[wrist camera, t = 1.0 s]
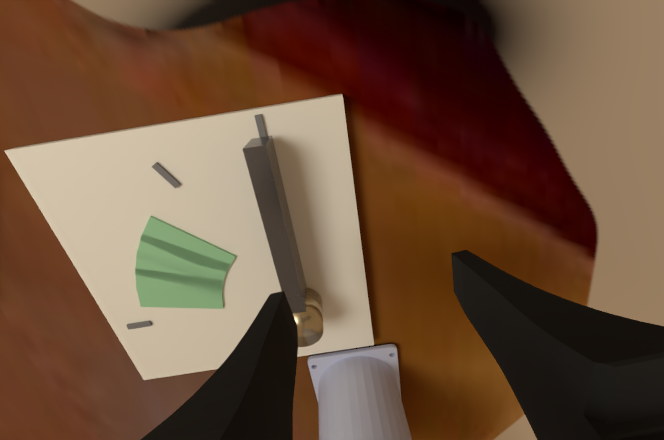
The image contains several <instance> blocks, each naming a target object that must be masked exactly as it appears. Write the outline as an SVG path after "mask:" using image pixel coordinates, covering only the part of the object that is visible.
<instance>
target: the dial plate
mask: <svg viewBox="0 0 664 440" xmlns="http://www.w3.org/2000/svg"><path fill="white" fill-rule="evenodd" d="M266 136H272V138H273V142H274V147H275V151H276V155H277V160H278V164H279V168H280V173H281V177H282V181H283V186H284V190H285V194H286V199H287V203H288V208H289V212H290V216H291V221H292V225H293V229H294V234H295V238H296V242H297V247H298V251H299V255H300V260H301V264H302V269H303V273H304V277H305V282H306V286H307V288H311V289H313V290H315V291H316V292H318V293H319V295H320V296H321V298H322V304H323V335H322V337H321V339H320V340H319V341H318V342H316V343H315V344H313V345H311V346H307V347H298V354H297V357H299V356H306V355H312V354H319V353H325V352H332V351H339V350H345V349H352V348H358V347H365V346H372V345H374V340H373V332H372V324H371V316H370V308H369V300H368V292H367V284H366V276H365V268H364V260H363V252H362V245H361V237H360V229H359V221H358V213H357V205H356V197H355V189H354V181H353V173H352V165H351V157H350V149H349V141H348V133H347V125H346V117H345V109H344V102H343V95H342V94H337V95H331V96H325V97H319V98H313V99H306V100H300V101H294V102H288V103H282V104H276V105H270V106H264V107H258V108H252V109H246V110H240V111H234V112H228V113H222V114H216V115H210V116H204V117H198V118H192V119H185V120H179V121H173V122H167V123H161V124H155V125H149V126H143V127H137V128H131V129H125V130H119V131H113V132H107V133H101V134H95V135H89V136H83V137H77V138H71V139H64V140H58V141H52V142H46V143H40V144H34V145H28V146H22V147H17V148H13V149H9V150H5V153H6V154H7V156H8V158H9V159H10V161H11V162H12V164H13V166H14V167H15V169H16V171H17V172H18V174H19V176H20V177H21V179H22V181H23V182H24V184H25V185H26V187H27V189H28V190H29V192H30V194H31V195H32V197H33V199H34V200H35V202H36V204H37V205H38V207H39V208H40V210H41V212H42V213H43V215H44V217H45V218H46V220H47V222H48V223H49V225H50V227H51V228H52V230H53V231H54V233H55V235H56V236H57V238H58V240H59V241H60V243H61V245H62V246H63V248H64V250H65V251H66V253H67V254H68V256H69V258H70V259H71V261H72V263H73V264H74V266H75V268H76V269H77V271H78V273H79V274H80V276H81V278H82V279H83V281H84V282H85V284H86V286H87V287H88V289H89V291H90V292H91V294H92V296H93V297H94V299H95V301H96V302H97V304H98V305H99V307H100V309H101V310H102V312H103V314H104V315H105V317H106V319H107V320H108V322H109V324H110V325H111V327H112V328H113V330H114V332H115V333H116V335H117V337H118V338H119V340H120V342H121V343H122V345H123V347H124V348H125V350H126V351H127V353H128V355H129V356H130V358H131V360H132V361H133V363H134V365H135V366H136V368H137V370H138V371H139V373H140V374H141V376H142V378H143V379H144V380H147V379H154V378H161V377H167V376H174V375H180V374H187V373H193V372H200V371H207V370H213V369H218V368H219V367H220V366H221V365H222V364H223V363H224V361H225V360H226V359H227V358H228V357H229V355H230V354H231V353H232V351H233V350H234V349H235V347H236V346H237V345H238V343H239V342H240V340H241V339H242V338H243V336H244V335H245V333H246V332H247V330H248V329H249V327H250V326H251V324H252V322H253V321H254V319H255V318H256V316H257V314H258V313H259V311H260V310H261V308H262V306H263V305H264V303H265V301H266V300H267V298H268V297H269V295H270V294H272V293H276V292H281V287H280V284H279V280H278V276H277V273H276V269H275V266H274V262H273V258H272V255H271V251H270V247H269V244H268V240H267V236H266V233H265V229H264V226H263V222H262V218H261V215H260V211H259V207H258V204H257V200H256V197H255V193H254V189H253V186H252V182H251V178H250V175H249V171H248V167H247V164H246V160H245V157H244V153H243V148H244V147H245V145H246V144H247V143H248V142H249V141H250V140H251V139H253V138H260V137H266Z"/></svg>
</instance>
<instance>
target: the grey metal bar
mask: <svg viewBox="0 0 664 440" xmlns="http://www.w3.org/2000/svg"><path fill="white" fill-rule="evenodd" d="M243 153H244V157H245V160H246V164H247V167H248V171H249V175H250V178H251V182H252V186H253V189H254V193H255V197H256V200H257V204H258V207H259V211H260V215H261V218H262V222H263V226H264V229H265V233H266V236H267V240H268V244H269V247H270V251H271V255H272V258H273V262H274V266H275V269H276V273H277V276H278V280H279V284H280V287H281V291H284V292H285V295H286V297H287V300H288V303H289V305H290V308H291V310H292V313H293V316H294V318H295V321H296V323H297V330H298V347H307V346H311V345H313V344H315V343H316V342H318V341H319V340H320V339H321V337H322V335H323V304H322V298H321V296H320V295H319V293H318V292H316V291H315V290H313V289H311V288H307V286H306V282H305V277H304V273H303V269H302V264H301V260H300V255H299V251H298V247H297V242H296V238H295V234H294V229H293V225H292V221H291V216H290V212H289V208H288V203H287V199H286V194H285V190H284V186H283V181H282V177H281V173H280V168H279V164H278V160H277V155H276V151H275V147H274V142H273V138H272V136H266V137H260V138H253V139H251V140H250V141H249V142H248V143H247V144H246V145H245V147H244V148H243Z"/></svg>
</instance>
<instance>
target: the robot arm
mask: <svg viewBox="0 0 664 440" xmlns="http://www.w3.org/2000/svg"><path fill="white" fill-rule="evenodd" d="M451 254H452V268H453V281H454V292H455V294H456V296H457V298H458V300H459V302H460V304H461V306H462V308H463V310H464V312H465V314H466V315H467V317H468V319H469V320H470V322H471V323H472V325H473V326H474V328H475V329H476V331H477V332H478V334H479V335H480V337H481V338H482V340H483V341H484V343H485V344H486V346H487V347H488V349H489V350H490V352H491V353H492V355H493V356H494V358H495V359H496V361H497V363H498V364H499V366H500V368H501V369H502V371H503V373H504V375H505V377H506V379H507V380H508V382H509V384H510V386H511V388H512V390H513V392H514V394H515V396H516V398H517V399H518V401H519V403H520V405H521V407H522V409H523V411H524V413H525V415H526V417H527V419H528V421H529V423H530V425H531V427H532V429H533V431H534V433H535V436H536V438H537V440H664V326H659V325H655V324H650V323H645V322H640V321H636V320H632V319H628V318H624V317H621V316H617V315H613V314H609V313H606V312H602V311H599V310H596V309H593V308H590V307H587V306H583V305H580V304H577V303H574V302H572V301H569V300H566V299H563V298H561V297H558V296H556V295H553V294H551V293H548V292H546V291H543V290H541V289H539V288H536V287H534V286H532V285H530V284H528V283H526V282H524V281H522V280H519V279H517V278H515V277H514V276H512V275H510V274H508V273H506V272H504V271H502V270H500V269H499V268H497V267H495V266H493V265H491V264H490V263H488V262H486V261H484V260H483V259H481V258H479V257H478V256H476V255H474V254H472V253H471V252H469V251H467V250H464V251H459V252H455V253H451ZM391 353H392V354H391ZM297 354H298V330H297V323H296V321H295V318H294V316H293V313H292V310H291V308H290V305H289V303H288V300H287V297H286V295H285V292H284V291H281V292H276V293H272V294H270V295H269V297H268V298H267V300H266V301H265V303H264V305H263V306H262V308H261V310H260V311H259V313H258V314H257V316H256V318H255V319H254V321H253V322H252V324H251V326H250V327H249V329H248V330H247V332H246V333H245V335H244V336H243V338H242V339H241V340H240V342H239V343H238V345H237V346H236V347H235V349H234V350H233V351H232V353H231V354H230V355H229V357H228V358H227V359H226V360H225V361H224V363H223V364H222V365H221V366H220V367H219V368H218V370H217V371H216V372H215V373H214V374H213V375H212V376H211V377H210V378H209V379H208V380H207V381H206V382H205V383H204V385H203V386H202V387H201V388H200V389H199V390H198V391H197V392H196V393H195V394H194V395H193V396H192V397H191V398H190V399H188V400H187V401H186V402H185V403H184V404H183V405H182V406H181V407H180V408H179V409H177V410H176V411H175V412H174V413H173V414H172V415H171V416H169V417H168V418H167V419H166V420H165V421H163V422H162V423H161V424H160V425H158V426H157V427H156V428H155V429H153V430H152V431H151V432H150V433H148V434H147V435H146V436H145V437H143V438H142V439H141V440H293V426H292V412H293V396H294V386H295V376H296V365H297ZM308 366H309V370H310V374H311V378H312V381H313V385H314V389H315V393H316V397H317V401H318V404H319V440H412V438H411V434H410V431H409V427H408V423H407V419H406V416H405V412H404V408H403V404H402V401H401V389H400V377H399V365H398V353H397V347H396V345H394V344H387V345H380V346H374V347H367V348H360V349H354V350H347V351H341V352H334V353H327V354H321V355H314V356H310V357H309V358H308Z"/></svg>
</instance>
